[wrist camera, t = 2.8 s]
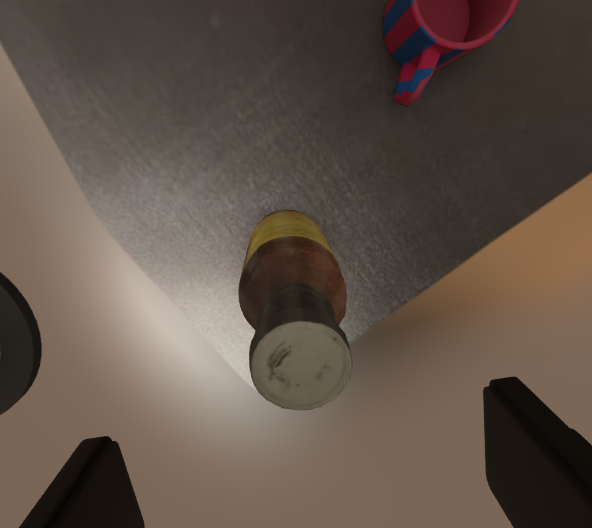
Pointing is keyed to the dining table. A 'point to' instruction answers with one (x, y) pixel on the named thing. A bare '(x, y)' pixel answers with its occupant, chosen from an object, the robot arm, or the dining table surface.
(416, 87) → the mug
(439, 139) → the dining table surface
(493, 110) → the dining table surface
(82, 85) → the dining table surface
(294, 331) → the sauce bottle
